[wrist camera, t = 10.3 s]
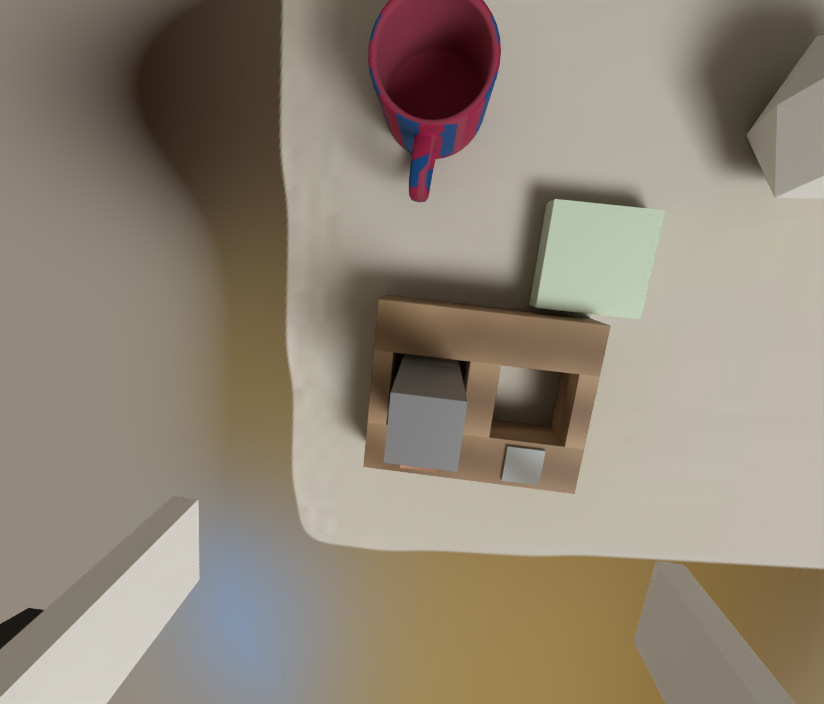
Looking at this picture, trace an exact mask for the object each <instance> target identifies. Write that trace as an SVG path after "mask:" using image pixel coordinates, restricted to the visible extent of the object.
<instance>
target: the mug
mask: <svg viewBox="0 0 824 704" xmlns="http://www.w3.org/2000/svg"><path fill="white" fill-rule="evenodd" d="M500 55H501V46H500V36H499V32H498V28H497V24H496V22H495V19H494V17H493V15H492V13H491V11H490V10H489V8H488V6H487V5H486V3H485V2H484V1H483V0H389V2H388V3H387V4H386V5H385V7H384V8H383V9H382V11H381V12H380V14H379V16H378V18H377V20H376V22H375V25H374V27H373V30H372V33H371V38H370V43H369V57H368V61H369V69H370V75H371V78H372V81H373V85H374V88H375V90H376V93H377V96H378V99H379V102H380V104H381V107H382V110H383V113H384V116H385V119H386V121H387V124H388V127H389V129H390V131H391V133H392V135H393V136H394V138H395V139H396V141H397V142H398V143H399V144H400V145H401V146H402V147H403V148H404V149H406V150H407V151H409V152H410V153H412V158H411V166H410V176H409V196H410V198H411V200H413V201H416V202H425V201H426V200H427V199H428V196H429V191H430V184H431V178H432V173H433V168H434V163H435V159H439V158H445V157H448V156H451V155H453V154H455V153H457V152H459V151H460V150H462V149H463V148H464V147H465V146H467V145H468V144H469V143H470V141H471V140H472V139H473V138H474V136H475V135H476V133H477V132H478V130H479V128H480V126H481V123H482V121H483V118H484V115H485V111H486V108H487V105H488V102H489V99H490V96H491V93H492V90H493V87H494V83H495V80H496V77H497V73H498V69H499V65H500Z"/></svg>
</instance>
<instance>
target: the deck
mask: <svg viewBox="0 0 824 704" xmlns="http://www.w3.org/2000/svg"><path fill="white" fill-rule="evenodd" d="M665 211H666V210H657V209H647V208H638V207H628V206H619V205H609V204H599V203H590V202H580V201H570V200H561V199H554V200H552V201H550V202H548V203H547V204H546V210H545V215H544V221H543V227H542V233H541V239H540V245H539V251H538V257H537V263H536V269H535V274H534V280H533V286H532V292H531V298H530V304H529V305H531V306H533V307H536V308H544V309H552V310H561V311H570V312H579V313H588V314H597V315H606V316H614V317H623V318H632V319H641V315H642V311H643V307H644V302H645V298H646V294H647V289H648V285H649V280H650V276H651V272H652V267H653V263H654V259H655V254H656V250H657V246H658V241H659V237H660V233H661V228H662V224H663V220H664V215H665Z"/></svg>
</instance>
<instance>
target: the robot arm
mask: <svg viewBox="0 0 824 704" xmlns="http://www.w3.org/2000/svg"><path fill="white" fill-rule="evenodd" d="M198 580H199V512H198V499H191V498H183V497H177V496H173V497H171V498H170V499H169V500H168V501H167V502H166V503H164V504H163V505H162V506H161V507H160V508H159V509H158V510H157V511H156V512H154V513H153V514H152V515H151V516H150V517H149V518H148V519H146V520H145V521H144V522H143V523H142V524H141V525H140V526H139V527H137V528H136V529H135V530H134V531H133V532H132V533H131V534H130V535H128V536H127V537H126V538H125V539H124V540H123V541H122V542H121V543H120V544H118V545H117V546H116V547H115V548H114V549H113V550H112V551H110V552H109V553H108V554H107V555H106V556H105V557H104V558H103V559H101V560H100V561H99V562H98V563H97V564H96V565H95V566H94V567H92V568H91V569H90V570H89V571H88V572H87V573H86V574H85V575H84V576H82V577H81V578H80V579H79V580H78V581H77V582H76V583H74V584H73V585H72V586H71V587H70V588H69V589H68V590H67V591H66V592H64V593H63V594H62V595H61V596H60V597H59V598H58V599H56V600H55V601H54V602H53V603H52V604H51V605H50V606H49V607H48V608H47V609H45V610H40V609H32V608H28V609H26V610H24V611H22V612H21V613H19V614H17V615H16V616H14V617H12V618H10V619H9V620H7V621H5V622H3V623H1V624H0V704H106V703H107V702H108V701H109V699H110V698H111V697H112V695H113V694H114V693H115V691H116V690H117V689H118V687H119V686H120V685H121V683H122V682H123V681H124V679H125V678H126V677H127V675H128V674H129V673H130V671H131V670H132V668H133V667H134V666H135V665H136V663H137V662H138V661H139V659H140V658H141V657H142V655H143V654H144V653H145V651H146V650H147V649H148V647H149V646H150V645H151V643H152V642H153V641H154V639H155V638H156V637H157V635H158V634H159V632H160V631H161V630H162V629H163V627H164V626H165V624H166V623H167V622H168V621H169V619H170V618H171V617H172V615H173V614H174V613H175V611H176V610H177V609H178V607H179V606H180V605H181V603H182V602H183V600H184V599H185V598H186V597H187V595H188V594H189V593H190V591H191V590H192V589H193V587H194V586H195V585H196V583H197V582H198ZM634 643H635V645H636V647H637V649H638V651H639V653H640V655H641V657H642V658H643V661H644V663H645V664H646V666H647V668H648V670H649V672H650V674H651V676H652V678H653V680H654V682H655V684H656V686H657V688H658V690H659V692H660V694H661V696H662V698H663V700H664V702H665V704H795V702H794V701H793V700H792V699H791V697H790V696H789V695H788V694H787V692H786V691H785V690H784V689H783V687H781V685H780V684H779V682H778V681H777V680H776V679H775V678H774V676H773V675H772V674H771V672H770V671H769V670H768V669H767V668H766V666H765V665H764V664H763V663H762V661H761V660H760V659H759V658H758V657H757V655H756V654H755V653H754V651H753V650H752V649H751V648H750V646H749V645H748V644H747V643H746V641H745V640H744V639H743V638H742V636H741V635H740V634H739V633H738V631H737V630H736V629H735V628H734V626H733V625H732V624H731V623H730V621H729V620H728V619H727V618H726V616H725V615H724V614H723V613H722V612H721V610H720V609H719V608H718V607H717V605H716V604H715V603H714V602H713V600H712V599H711V598H710V597H709V595H708V594H707V593H706V592H705V591H704V589H703V588H702V587H701V585H700V584H699V583H698V582H697V580H696V579H695V578H694V577H693V575H692V574H691V573H690V572H689V570H687V568H686V567H685V566H684V565H681V564H673V563H666V562H659V561H656V563H655V567H654V571H653V574H652V578H651V581H650V585H649V589H648V592H647V596H646V599H645V603H644V606H643V610H642V613H641V617H640V621H639V624H638V628H637V631H636V635H635V638H634Z"/></svg>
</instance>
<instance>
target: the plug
mask: <svg viewBox="0 0 824 704" xmlns="http://www.w3.org/2000/svg"><path fill="white" fill-rule="evenodd" d="M467 403H468V401H467V397H466V392H465V388H464V383H463V379H462V374H461V370H460V365H459V361H458V360H454V359H445V358H437V357H428V356H420V355H411V354H404V356H403V359H402V362H401V365H400V368H399V370H398V373H397V376H396V379H395V382H394V385H393V388H392V390H391V395H390V405H389V415H388V425H387V435H386V445H385V454H384V463H390V464H398V465H406V466H413V467H421V468H429V469H437V470H445V471H453V472H458V465H459V458H460V451H461V444H462V437H463V430H464V423H465V416H466V410H467Z"/></svg>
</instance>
